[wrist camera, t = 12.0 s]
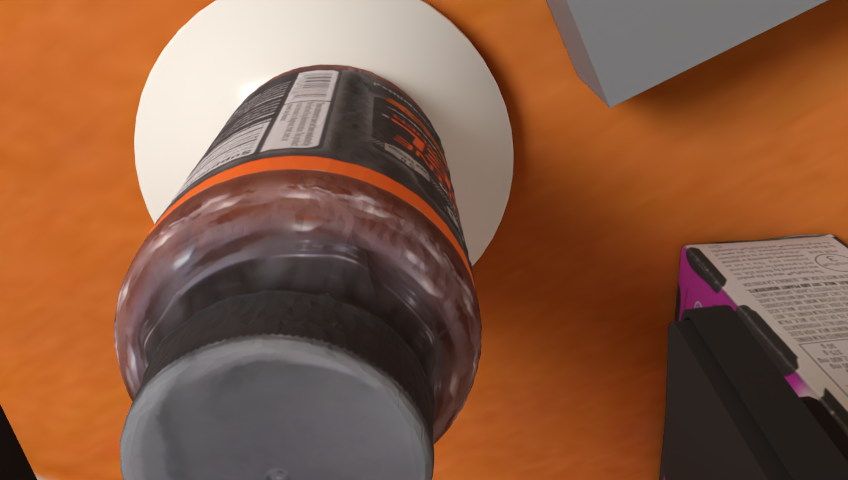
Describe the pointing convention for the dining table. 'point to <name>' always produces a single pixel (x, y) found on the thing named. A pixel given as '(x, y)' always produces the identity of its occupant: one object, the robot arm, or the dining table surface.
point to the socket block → (657, 37)
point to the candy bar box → (781, 306)
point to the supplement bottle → (302, 295)
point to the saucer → (329, 45)
